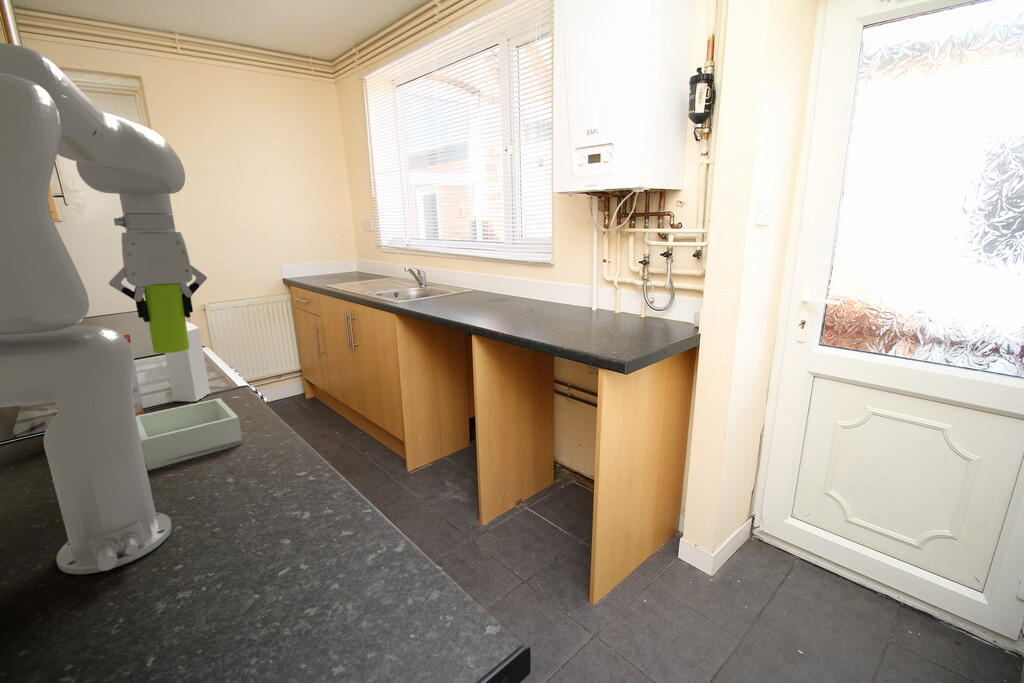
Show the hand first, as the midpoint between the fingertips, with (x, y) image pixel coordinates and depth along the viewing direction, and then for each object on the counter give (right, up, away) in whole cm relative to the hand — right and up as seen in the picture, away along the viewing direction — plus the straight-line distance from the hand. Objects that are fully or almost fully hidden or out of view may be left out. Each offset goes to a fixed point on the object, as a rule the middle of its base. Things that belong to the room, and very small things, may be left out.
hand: (167, 317), depth 93 cm
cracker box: (-24, -25, +15) cm, 38 cm away
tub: (0, -26, +6) cm, 27 cm away
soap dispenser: (0, -6, +2) cm, 7 cm away
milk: (-17, -20, +33) cm, 42 cm away
